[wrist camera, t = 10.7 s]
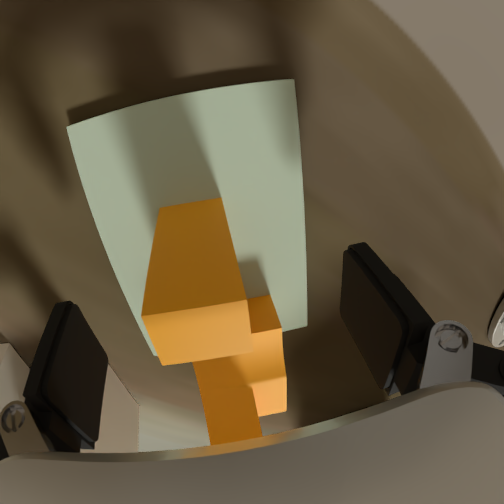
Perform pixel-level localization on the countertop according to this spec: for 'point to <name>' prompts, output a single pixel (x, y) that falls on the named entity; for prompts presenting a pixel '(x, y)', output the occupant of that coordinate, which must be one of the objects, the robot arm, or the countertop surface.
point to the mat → (203, 183)
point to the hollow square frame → (113, 407)
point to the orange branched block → (213, 321)
